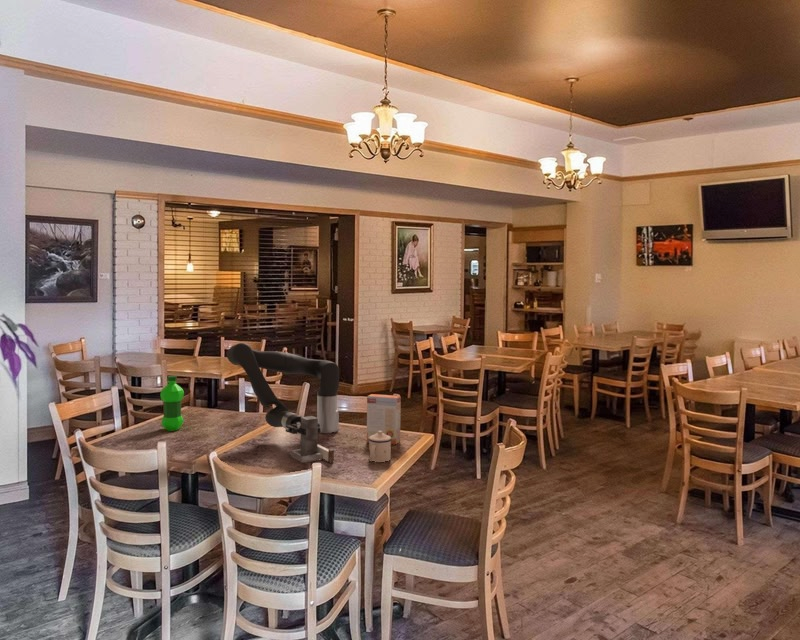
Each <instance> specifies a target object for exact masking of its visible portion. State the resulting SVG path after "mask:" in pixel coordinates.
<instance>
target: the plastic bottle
mask: <svg viewBox="0 0 800 640" xmlns="http://www.w3.org/2000/svg"><path fill="white" fill-rule="evenodd" d="M166 380H167V382H168V383H167V384H166V385H165V386H164V387H163V388H162V389H161V390H160V393H159V395H160V400H161V401H162V403H163V405H162V406H163V417H162V419H161V421H160V422H161V427H163V429H165V430H166V431H169V432H170V431H171V432H172V431H178V430H179V429H180V428H182V426H183V424H184V417H183V415H182V400H183V399H184V394H185V391H184V389H183V388H182V387H181V385H179V384H177V382H176V381H178V376H177V375H168V376H167V379H166Z"/></svg>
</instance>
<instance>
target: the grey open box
mask: <svg viewBox="0 0 800 640" xmlns="http://www.w3.org/2000/svg"><path fill="white" fill-rule="evenodd" d="M300 449H301V448H298V449H293V450H290V458H292V457H293V458H292V459H294V460H296V461H297V460H298V462H300V463H301V464H304V463H310V462H317V461H320V460H319V459H323V453H317V454H311V455H305V456H303V455H301V454H300ZM328 450H329V462H333V461H334V462H335V459H334V458H335V456H334V455H335V450H334V449H332V448H331V449H328ZM316 460H317V461H316ZM323 460H324V459H323ZM329 462H328V463H329Z"/></svg>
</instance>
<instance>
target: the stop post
mask: <svg viewBox="0 0 800 640" xmlns="http://www.w3.org/2000/svg"><path fill="white" fill-rule="evenodd" d="M301 428H303V429H305V435H302V434H300V448H299V449H300V454H301V455H303V456H305V455H311V454H317V445H319V443H318V441H319V440H318V439H319V435H318V434H319V433H318V418H317V416H314V415H308V416H302V417H301Z"/></svg>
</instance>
